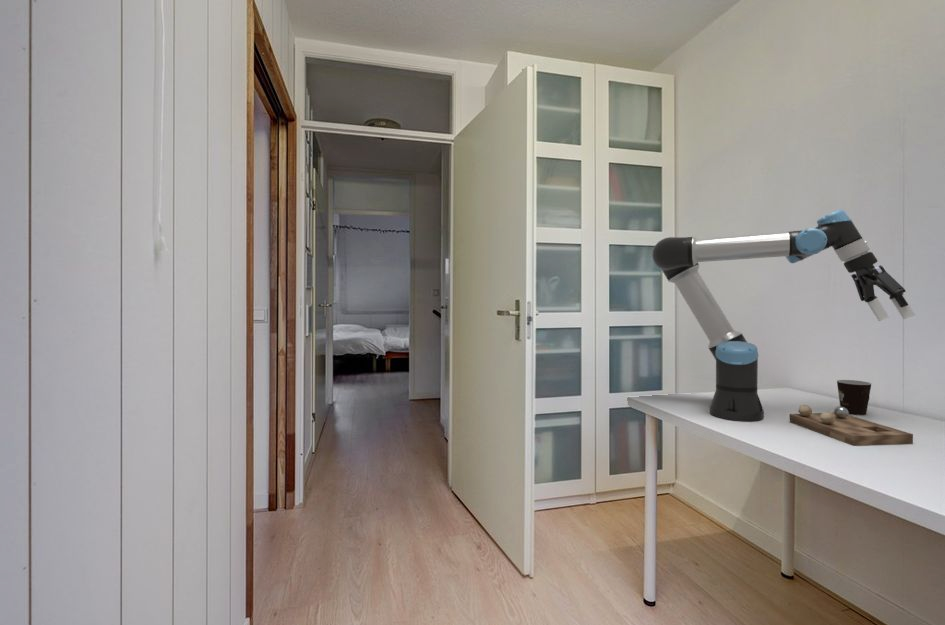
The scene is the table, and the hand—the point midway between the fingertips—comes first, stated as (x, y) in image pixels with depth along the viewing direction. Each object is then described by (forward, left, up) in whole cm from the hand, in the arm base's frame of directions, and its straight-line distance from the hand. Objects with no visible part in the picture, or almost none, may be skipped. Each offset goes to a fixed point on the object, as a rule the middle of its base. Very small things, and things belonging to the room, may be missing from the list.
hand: (896, 318), depth 136 cm
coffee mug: (-4, +10, -32) cm, 33 cm away
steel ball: (-20, -3, -27) cm, 34 cm away
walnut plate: (-23, -9, -31) cm, 40 cm away
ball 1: (-29, 0, -27) cm, 40 cm away
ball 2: (-29, -9, -27) cm, 40 cm away
